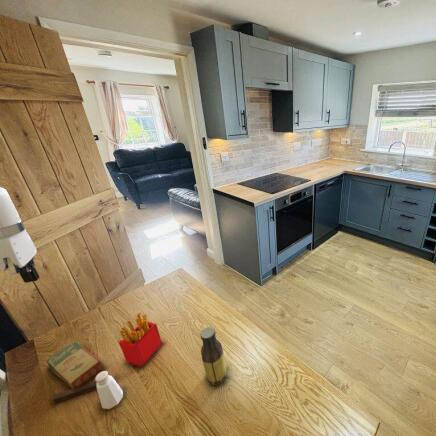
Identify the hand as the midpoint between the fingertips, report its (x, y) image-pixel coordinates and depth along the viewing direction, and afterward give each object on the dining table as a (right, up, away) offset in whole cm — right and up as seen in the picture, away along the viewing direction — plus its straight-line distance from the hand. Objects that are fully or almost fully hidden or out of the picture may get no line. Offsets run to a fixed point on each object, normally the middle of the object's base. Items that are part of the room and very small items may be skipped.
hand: (32, 280), depth 76 cm
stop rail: (+21, -32, -5) cm, 39 cm away
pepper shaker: (+31, -34, -7) cm, 46 cm away
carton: (+13, -30, +1) cm, 32 cm away
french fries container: (+32, -28, +7) cm, 43 cm away
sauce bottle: (+60, -31, 0) cm, 67 cm away
